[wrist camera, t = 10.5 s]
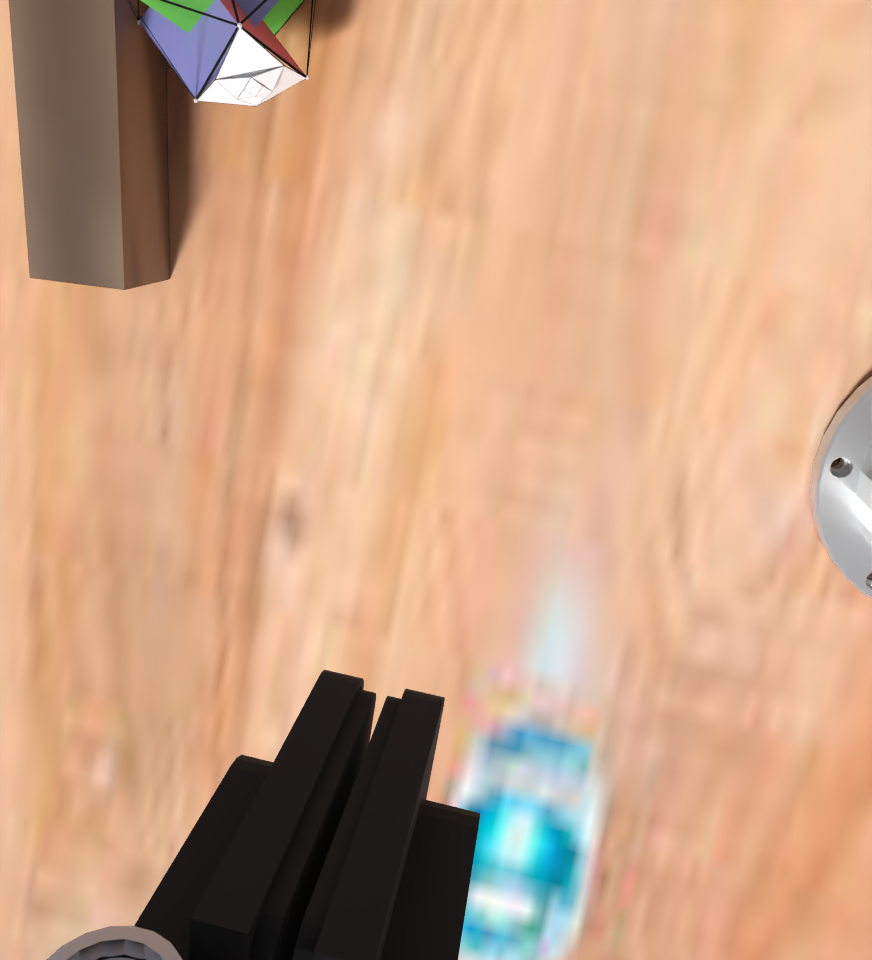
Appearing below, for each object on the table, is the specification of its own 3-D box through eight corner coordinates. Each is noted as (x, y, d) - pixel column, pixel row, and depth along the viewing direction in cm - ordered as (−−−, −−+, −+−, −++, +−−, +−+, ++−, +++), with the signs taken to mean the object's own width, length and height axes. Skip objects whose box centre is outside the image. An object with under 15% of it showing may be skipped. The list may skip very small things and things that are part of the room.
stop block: (160, -295, 28) (100, -368, 25) (169, 279, 36) (124, 289, 32) (54, -301, 29) (-20, -373, 25) (84, 268, 36) (29, 277, 32)
